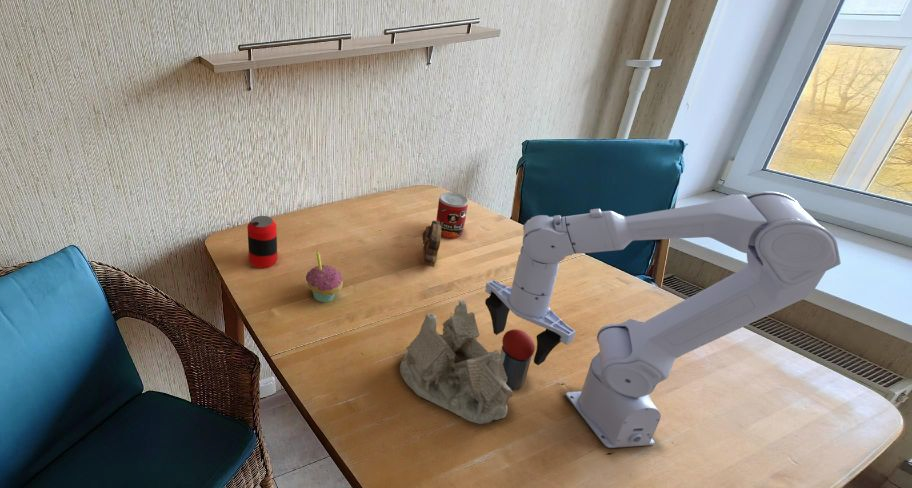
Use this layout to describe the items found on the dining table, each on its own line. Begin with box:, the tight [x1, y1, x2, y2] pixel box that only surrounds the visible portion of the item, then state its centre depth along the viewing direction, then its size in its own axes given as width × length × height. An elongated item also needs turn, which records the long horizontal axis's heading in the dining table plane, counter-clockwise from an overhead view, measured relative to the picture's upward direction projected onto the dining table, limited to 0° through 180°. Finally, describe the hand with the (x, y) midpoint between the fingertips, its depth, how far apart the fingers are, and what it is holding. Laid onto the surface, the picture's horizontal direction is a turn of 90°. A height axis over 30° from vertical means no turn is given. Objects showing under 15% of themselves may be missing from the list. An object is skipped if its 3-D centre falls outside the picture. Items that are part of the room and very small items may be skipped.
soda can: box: [246, 215, 278, 269], centre depth 112 cm, size 8×8×12 cm
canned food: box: [435, 191, 469, 239], centre depth 123 cm, size 8×8×11 cm
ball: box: [501, 328, 536, 360], centre depth 76 cm, size 5×5×5 cm
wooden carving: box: [421, 220, 442, 268], centre depth 112 cm, size 16×5×10 cm, turn 165°
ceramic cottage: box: [399, 300, 514, 425], centre depth 75 cm, size 16×16×15 cm
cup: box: [499, 344, 532, 390], centre depth 78 cm, size 5×5×6 cm
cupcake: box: [305, 250, 344, 303], centre depth 99 cm, size 9×8×12 cm
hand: (517, 346), depth 76 cm, fingers open, 7 cm apart
